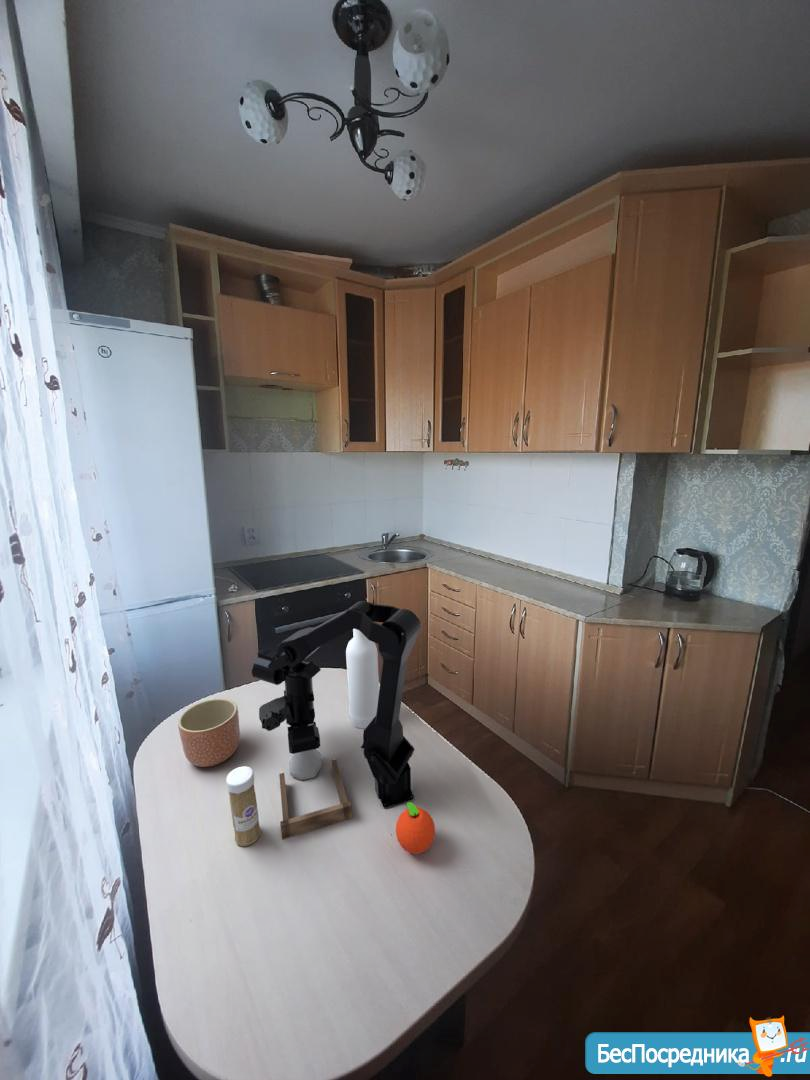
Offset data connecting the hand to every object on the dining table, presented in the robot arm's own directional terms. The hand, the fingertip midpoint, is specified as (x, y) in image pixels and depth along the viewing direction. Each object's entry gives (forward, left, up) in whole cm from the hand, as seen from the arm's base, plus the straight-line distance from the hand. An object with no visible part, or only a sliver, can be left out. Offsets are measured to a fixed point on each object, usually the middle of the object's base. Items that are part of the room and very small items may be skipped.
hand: (302, 748), depth 97 cm
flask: (0, +3, -2) cm, 4 cm away
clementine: (-17, +28, -3) cm, 33 cm away
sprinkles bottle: (+12, +16, -3) cm, 20 cm away
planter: (+19, -9, -3) cm, 22 cm away
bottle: (-17, -9, -3) cm, 19 cm away
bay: (-1, +12, -3) cm, 12 cm away
